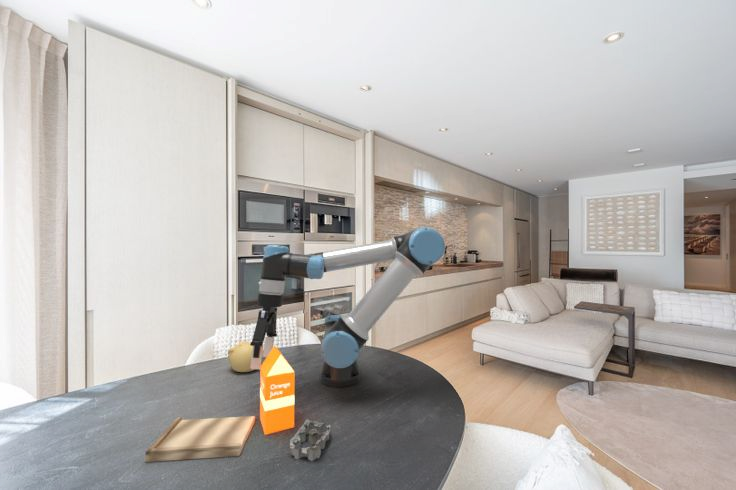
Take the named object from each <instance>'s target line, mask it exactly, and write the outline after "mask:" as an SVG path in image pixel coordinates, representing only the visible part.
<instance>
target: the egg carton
mask: <svg viewBox="0 0 736 490" xmlns="http://www.w3.org/2000/svg"><path fill="white" fill-rule="evenodd" d="M331 426H332V425H331V424H328V425H326V424H325V423H324V422H319V421H315V420H313V421H312V420H310V419H308V418H306V419H305V421H304V423H303V424H302V425H301V427H300V428H298V430H297V432H296V433H295V434H294V436H293V437H291V439H290V440H289V448H290V449H291V456H294V459H295V460H300V459H301V458H303V457H305V458H307V459H308V460H311V461H310V462H313V461H315V460H316V458H317V459H320V457H321V454H322V450H324V449H325V447H326V442H327V441H330V440H329V439H330V431H331V429H332V428H331ZM307 435H308V441H309V444H310V445H314V446H308V447H301V444H302V443H305V442H306V440H307V438H306V437H307ZM319 437H320V439H319Z"/></svg>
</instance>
